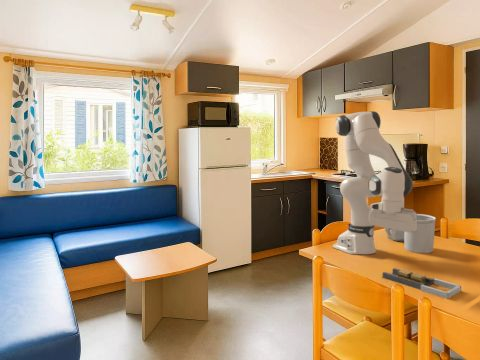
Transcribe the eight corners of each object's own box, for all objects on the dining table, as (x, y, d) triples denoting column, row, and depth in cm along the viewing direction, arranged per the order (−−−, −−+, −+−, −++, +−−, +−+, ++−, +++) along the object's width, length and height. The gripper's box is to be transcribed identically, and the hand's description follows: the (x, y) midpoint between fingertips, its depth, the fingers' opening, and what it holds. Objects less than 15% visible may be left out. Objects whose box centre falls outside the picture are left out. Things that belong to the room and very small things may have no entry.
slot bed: (381, 279, 162) (381, 272, 162) (395, 274, 168) (395, 267, 168) (421, 292, 149) (421, 284, 148) (434, 285, 155) (434, 278, 154)
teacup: (412, 242, 216) (412, 228, 215) (392, 242, 216) (392, 228, 215) (402, 236, 230) (402, 222, 229) (383, 236, 230) (383, 223, 229)
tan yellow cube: (397, 279, 159) (398, 271, 159) (403, 277, 162) (403, 269, 161) (407, 282, 156) (407, 274, 156) (412, 280, 159) (412, 271, 158)
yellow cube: (410, 283, 155) (410, 275, 155) (415, 281, 158) (416, 272, 157) (420, 286, 152) (420, 277, 152) (425, 283, 154) (425, 275, 154)
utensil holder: (435, 255, 193) (437, 220, 191) (403, 252, 199) (404, 218, 197) (433, 247, 207) (434, 214, 205) (402, 244, 212) (403, 213, 210)
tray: (420, 292, 148) (420, 285, 148) (434, 285, 155) (435, 278, 155) (447, 301, 140) (447, 293, 140) (461, 293, 147) (461, 285, 147)
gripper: (420, 209, 154) (419, 242, 156) (375, 202, 171) (375, 233, 172) (412, 211, 151) (411, 245, 152) (367, 204, 167) (366, 235, 168)
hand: (391, 239), depth 162 cm, fingers closed
